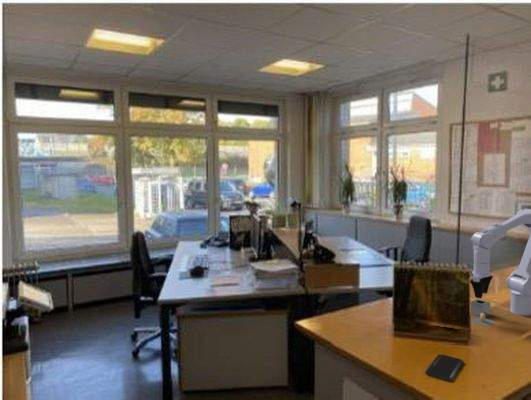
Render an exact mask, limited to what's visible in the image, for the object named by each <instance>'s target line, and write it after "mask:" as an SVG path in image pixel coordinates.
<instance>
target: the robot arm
mask: <svg viewBox="0 0 531 400" xmlns="http://www.w3.org/2000/svg"><path fill="white" fill-rule="evenodd" d="M521 225H524V227H526V229H527V230H528V231H529V233H530V234H529V237H528V240H527V242H526V245H525V249H524V251H523V254H522V256H521V260H520V263H519V266H518V267H517V268H516V269H514V270H513V271H511V274H510V275H509V276H508V277H507V279H506V286H507V289H509V292H510V307H509V309H510V313H512V314H514V315H518V316H523V317H524V316H525V317H526V316H531V208H526V207H525V208H523V209H521V210H517V213H516V214H514V215H513V216H512V217H510V218H508V219H507V220H505V221H504V222H503V223H499V222H498V223H495V222H494V223H492V224H491V226H489V227H487V228H483V230H482V231H475V233H473V234H472V235H471V238H470V244H471V245H472V249H473V270H472V274H471V275H473V278H471V279H469V282H470V283H469V284H471V286H472V288H473V292H474V296H475V298H476V299H483V298H482V297H483V294H487V293H489V291H488V290H489V287H490V284H491V281H492V279H493V277H494V276H493V275H491V273H490V271H491V269H490V268H491V262H490V260H491V248H492V246H493V245H494V243H495V242H496V241H498V240H499V239H501V238H503V237H505V236H507V233H508V231H511V230H513V229H515V228H517V227H519V226H521Z"/></svg>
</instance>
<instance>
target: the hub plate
mask: <svg viewBox="0 0 531 400" xmlns="http://www.w3.org/2000/svg"><path fill="white" fill-rule="evenodd" d="M470 320H471V321H470V322H472V323H474V324H478V325H481V326H485V327H488V326H490V325H493V324H496V321H494V320H491V319H488V318H486V317H485V314H484V313H481V315H480V317H479V316H476V317H475V318H472V319H470Z"/></svg>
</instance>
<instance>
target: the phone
mask: <svg viewBox="0 0 531 400" xmlns="http://www.w3.org/2000/svg"><path fill="white" fill-rule="evenodd" d="M433 359H434V360H433V361H432V362H431V363H430V364H429V366H428V367H427V368H426V369H425V370H424V371H425V372H424V373H425V375H426V376H428V377H432V378H435V379H437V380H438V379H439V380H442V381H446V382H450V383H451V382H453V381H454V379H455V378H456V376H457V374H458V373H459V371H460V370H461V369H462V367H463V366H464V363H465V362H464V360H463V359H461V358H456V357H454V356H450V355H446V354H442V353H441V354H438V355H437V356H436V357H435V358H433Z"/></svg>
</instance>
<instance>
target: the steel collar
mask: <svg viewBox="0 0 531 400" xmlns="http://www.w3.org/2000/svg"><path fill="white" fill-rule="evenodd" d="M481 313H484V314H485V316H486V317H488V316H490V315H489V314H491V302H490V301H487V300H486V301H485V300H483V299H480V298H476V299H474V300H471V314H470V315H473V314H474V315H473V316H476V315H477V316H476V317H479V316H480V315H481ZM487 315H488V316H487Z"/></svg>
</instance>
